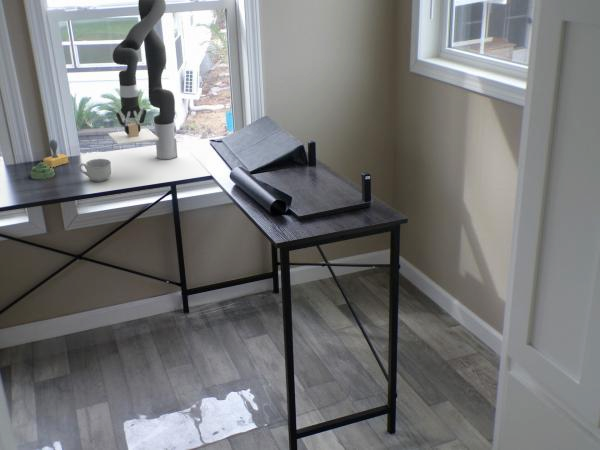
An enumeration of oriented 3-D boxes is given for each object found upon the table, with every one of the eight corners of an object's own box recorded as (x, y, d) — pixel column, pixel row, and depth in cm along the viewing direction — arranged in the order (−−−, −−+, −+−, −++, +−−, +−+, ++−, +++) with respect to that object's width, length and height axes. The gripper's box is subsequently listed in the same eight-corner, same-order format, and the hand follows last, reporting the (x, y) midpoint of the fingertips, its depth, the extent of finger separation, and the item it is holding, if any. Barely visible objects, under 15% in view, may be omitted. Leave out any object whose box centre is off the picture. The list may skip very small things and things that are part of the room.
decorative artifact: (32, 173, 305) (29, 180, 296) (30, 158, 302) (27, 165, 293) (55, 171, 307) (53, 179, 298) (53, 157, 305) (51, 163, 296)
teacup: (115, 176, 302) (114, 159, 299) (107, 184, 292) (105, 166, 289) (86, 174, 303) (83, 157, 300) (76, 182, 294) (74, 165, 290)
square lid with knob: (147, 129, 310) (146, 117, 308) (159, 140, 296) (158, 127, 293) (108, 134, 302) (106, 122, 300) (118, 145, 288) (116, 132, 286)
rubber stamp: (60, 160, 322) (57, 136, 317) (68, 162, 320) (65, 138, 315) (43, 166, 314) (39, 141, 310) (52, 168, 312) (48, 143, 307)
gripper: (142, 91, 298) (146, 129, 304) (110, 94, 291) (114, 133, 298) (147, 95, 291) (150, 133, 298) (114, 98, 285) (119, 137, 292)
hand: (132, 133), depth 298 cm, fingers closed on square lid with knob, 4 cm apart
